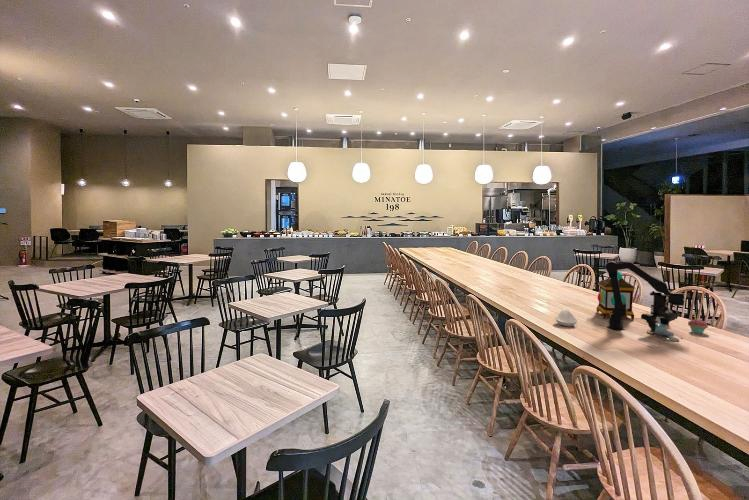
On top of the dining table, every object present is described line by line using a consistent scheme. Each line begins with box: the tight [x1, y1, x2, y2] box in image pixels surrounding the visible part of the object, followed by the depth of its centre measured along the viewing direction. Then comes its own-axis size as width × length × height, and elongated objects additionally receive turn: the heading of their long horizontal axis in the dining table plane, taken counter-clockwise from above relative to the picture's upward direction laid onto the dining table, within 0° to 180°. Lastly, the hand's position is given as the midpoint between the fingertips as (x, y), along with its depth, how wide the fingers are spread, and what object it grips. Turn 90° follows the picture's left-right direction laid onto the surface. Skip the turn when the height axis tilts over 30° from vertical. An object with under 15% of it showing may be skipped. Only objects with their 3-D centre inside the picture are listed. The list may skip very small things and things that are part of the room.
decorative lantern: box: [596, 270, 636, 321], centre depth 252 cm, size 20×20×30 cm
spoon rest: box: [555, 308, 578, 327], centre depth 240 cm, size 24×12×7 cm, turn 158°
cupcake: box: [687, 311, 709, 334], centre depth 216 cm, size 9×8×12 cm
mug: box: [651, 323, 675, 338], centre depth 212 cm, size 11×7×6 cm, turn 7°
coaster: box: [658, 336, 680, 343], centre depth 205 cm, size 9×9×1 cm
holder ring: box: [646, 329, 667, 337], centre depth 215 cm, size 10×10×1 cm
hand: (658, 331), depth 215 cm, fingers closed on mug, 7 cm apart
